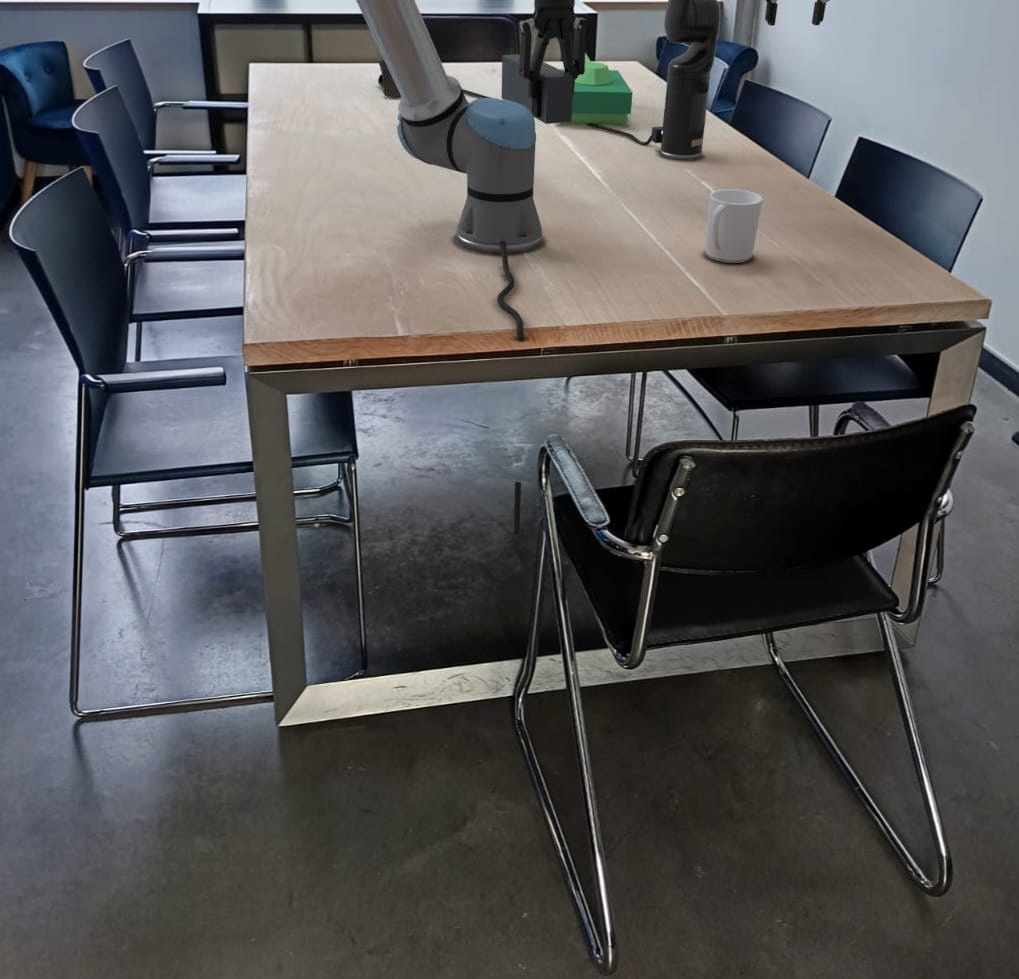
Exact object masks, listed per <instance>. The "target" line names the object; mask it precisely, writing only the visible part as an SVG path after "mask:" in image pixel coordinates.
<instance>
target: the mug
mask: <svg viewBox="0 0 1019 979" xmlns="http://www.w3.org/2000/svg"><path fill="white" fill-rule="evenodd" d="M708 197H709V198H708V208H707V209H708V210H707V223H706V224H707V225H706V238H705V255H706V257H708V258H709V259H711V260H714V261H716V262H719V263H720V262H721V263H728V264H738V263H745V262H748V261H750V260H751V259H752V257H753V253H754V248H755V242H756V237H757V231H758V227H759V222H760V216H761V210H762V206H763V200H764V199H763V196H762V195H760V194H759V193H756V192H753V191H750V190H744V189H736V188H735V189H734V188H725V189H717V190H713V191H711V192H710V193H709V196H708Z"/></svg>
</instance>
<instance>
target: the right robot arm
mask: <svg viewBox="0 0 1019 979" xmlns="http://www.w3.org/2000/svg"><path fill="white" fill-rule="evenodd" d="M765 2H766V8H765V16H764V20H765V22H766V23H767V25H768V26H775V25H776V19H777V14H778V13H777V12H778V5H779V4H778V3H777V2H778V0H765ZM828 2H830V0H816V1H815V2H814V6H813V12H812V19H811V24H812V25H813V26H820V24H821V23H822V22H823V21H824V19H825V12H826V6H827V3H828ZM665 8H666V9H665V14H664V33H665V37H666V39H667V40H668V41H669V42H670V43H672V44H690V46H689V48H688V49H687V50H686V51H685V52H684V53H682V54H681V55H679V56H677V57H675V58H673V59H671V60H670V61H669V63H668V68H667V79H666V89H665V98H664V99H665V101H664V109H663V119H662V126H652V127H651V135H650V136H649V137H648V139H647V141H641V140H639V139H638V138H637V137H636V136H635V135H633V134H632V133H629V132H626V131H623V130H620V129H615V128H613V127H612V128H611V127H607V126H605V125H597V124H593V123H589V124H586V125H585V126H587V127H591V128H594V129H598V130H602V131H606V132H609V133H613V134H617V135H621V136H624V137H628V138H630V139H631V140H632V141H633V142H635V143H637V144H639V145H641V146H649V145H650V144H651V143H654V144H660V150H659V154H660V156H662V157H663V158H667V159H672V160H679V161H691V160H697V159H700V158H701V157H702V156H703V144H704V135H705V125H706V116H707V108H708V98H709V88H710V81H711V71H712V67H713V66H714V63H715V57H716V52H717V43H718V38H719V33H720V25H721V8H720V5H719V2H718V0H667V4H666V7H665ZM462 90H463V93H464V94H467V95H471V96H473V97H477V98H479V99H481V98H492V97H491V96H487V95H484V94H480V93H477V92H473V91H470V90H467V89H465V88H462Z"/></svg>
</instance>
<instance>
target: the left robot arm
mask: <svg viewBox="0 0 1019 979" xmlns="http://www.w3.org/2000/svg"><path fill="white" fill-rule="evenodd" d="M355 1H356V3H357V5H358V8H359V10H360V12H361V14H362V17H363V18H364V20H365V22H366V24H367V26H368V29H369V32H370V33H371V35H372V37H373V40H374V42H375V44H376V45H377V48H378V50H379V52H380V54H381V56H382V58H383V61H385V63H386V65H387V67H388V69H389V71H390V73H391V75H392V78H393V80H394V82H395V84H396V86H397V88H398V90H399V92H400V95H401V97H402V98H400V100H399V102H398V109H397V110H398V114H397V121H399V122H398V124H397V125H396V130H397V135H398V139H399V142H400V144H401V146H402V147H403V149H404V150H405V151H406V152H407V154H409V156H411V157H412V158H414V159H416V160H418V161H421V162H423V163H424V164H427V165H430V166H432V165H433V166H436V167H439V168H443V169H447V170H451V171H454V172H458V173H461V174H466V192H467V193H466V198H465V202H464V205H463V209H462V211H461V214H460V218H459V220H458V224H457V228H456V241H457V243H458V244H459V245H461V246H462V247H464V248H466V249H468V250H470V251H475V252H479V253H486V254H497V255H499V254H500V255H501V262H502V269H503V272H504V275H505V276H506V278H507V280H508V281H507V282H508V283H507V286H506V287H504V288H503V289H502V290H501V291H500V292H499V294H498V295H497V303H498V306H500V308H501V309H503V311H505V312H506V313H508V314H509V315H510V316H511V317H512V318H513V319H514V321H515V323H516V339H517V342H521V343H522V342H524V341H525V336H524V320H523V319H522V317H521V314H520V313H518V311H517V310H516V309H514V308H513V307H512V306H510V305H509V304H508V303H506V301H505V300H504V299H505V297H506V296H507V295H508V294H509V293H510V292H512V290H513V289H514V287H515V278H514V275H513V274H512V272H511V270H510V265H509V257H508V254H517V253H524V252H527V251H530V250H533V249H536V248H538V247H539V246H540V245H541V244H542V243H543V229H542V224H541V221H540V220H541V219H540V218H539V214H538V213H539V212H538V210H537V206H536V204H535V199H534V184H535V162H536V143H537V142H536V141H537V133H536V119H535V117H534V116H536V117H541V89H542V81H540V80H538V77H539V73H540V70H541V66H542V62H544V59H545V56H546V51H547V47H548V45H549V44H550V41H551V40H553V39H556V40H557V42H558V45H559V51H560V55H561V60H562V65H563V69H564V70H565V72H566V73H568V74H570V75H572V76H574V80H573V95H574V86H575V79H577V78H578V75H580V74H581V75H582V74H584V72H585V53H586V34H587V30H588V27H589V24H590V22H589V20H588V19H586V18H583V17H578V16H576V13H575V4H576V0H533V6H534V7H533V8H534V10H533V14H532V15H531V18H529V19H526V20H519V21H518V24H517V26H518V29H519V33H520V44H519V46H520V47H519V54H520V60H519V75H520V76H522V77H524V78H527V79H528V96H529V97H530V98H532V112H531V111H530V110H529V109H528V108H527V107H525V106H523V105H521V104H519V103H516V102H513V101H510V100H505V99H499V98H497V97H491V98H476V99H474V100H471V101H470V102H469V100H468V99H467V97H466V94H465V93H464V92H463V90H462V89H463V88H462V85H461V83H460V82H459V80H458V79H457V78H456V77H454V76H451V75H448V74H447V73H446V70H445V68H444V65H443V63H442V61H441V58H440V57H439V54H438V51H437V49H436V46H435V45H434V42H433V40H432V38H431V34H430V32H429V30H428V28H427V26H426V23H425V21H424V19H423V16H422V14H421V12H420V9H419V8H418V5H417V2H416V0H355ZM534 27H535V28H536V30H537V33H536V38H535V46H534V49H533V52H532V41H533V40H532V39H533V37H532V35H533V34H532V33H533V31H534ZM572 27H573V28H574V32H573V52H572V46H571V37H570V36H571V35H570V32H569V31H570V30H571V28H572ZM531 53H532V54H531ZM531 56H532V60H531V64H530V59H531ZM533 115H534V116H533ZM521 501H522V482H520V481H515V482H514V505H513V507H514V510H513V516H514V517H513V534H515V535H519V534H520V533H521V505H522V504H521V503H522V502H521Z"/></svg>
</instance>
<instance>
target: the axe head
mask: <svg viewBox="0 0 1019 979" xmlns="http://www.w3.org/2000/svg"><path fill="white" fill-rule="evenodd" d="M378 66H379V68H380V72H381V74H379V75H378V79H377V84H378V85H379V86H380V87H381V88H382V89H383V95H384V96H385V97H388V98H394V99H395V98H396V99H401V98H402V97H401V95H400V92H399V90H398V88H397V86H396V84H395V82H394V80H393V78H392V75H391V73H390V71H389V69H388V67H387V65H386V63H385V61H384V60H380V61H379V62H378Z"/></svg>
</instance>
